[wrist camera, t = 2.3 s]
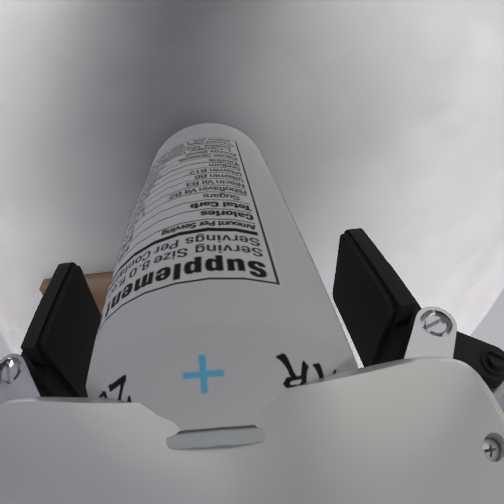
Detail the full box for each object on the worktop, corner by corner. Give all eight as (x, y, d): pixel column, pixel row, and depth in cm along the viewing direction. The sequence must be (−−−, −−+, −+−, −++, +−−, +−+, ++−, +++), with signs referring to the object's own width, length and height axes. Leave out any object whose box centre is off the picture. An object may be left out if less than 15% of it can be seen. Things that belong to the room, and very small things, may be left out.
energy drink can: (185, 234, 19) (185, 507, 7) (133, 150, 16) (13, 443, 4) (278, 194, 18) (386, 462, 6) (237, 99, 15) (376, 367, 3)
